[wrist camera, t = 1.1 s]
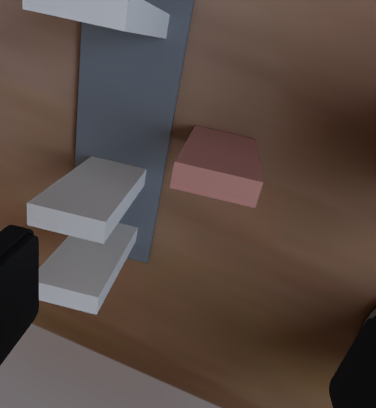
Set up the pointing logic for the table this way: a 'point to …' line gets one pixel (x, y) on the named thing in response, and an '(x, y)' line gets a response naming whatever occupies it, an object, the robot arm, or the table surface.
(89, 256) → the domino
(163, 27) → the domino
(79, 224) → the domino
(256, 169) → the red domino
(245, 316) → the table surface
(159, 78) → the domino mat
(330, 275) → the table surface
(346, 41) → the table surface
